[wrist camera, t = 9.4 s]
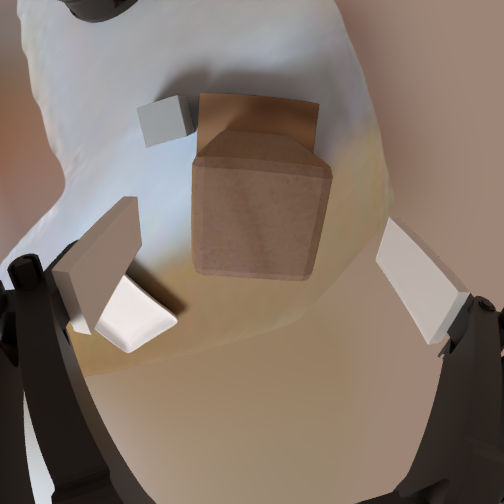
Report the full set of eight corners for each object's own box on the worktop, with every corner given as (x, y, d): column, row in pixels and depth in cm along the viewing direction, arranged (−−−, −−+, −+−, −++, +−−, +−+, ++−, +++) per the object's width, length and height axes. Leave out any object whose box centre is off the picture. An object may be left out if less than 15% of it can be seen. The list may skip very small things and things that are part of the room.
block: (293, 135, 35) (339, 166, 17) (284, 203, 40) (312, 286, 22) (219, 129, 34) (190, 152, 17) (215, 197, 39) (190, 278, 22)
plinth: (205, 94, 36) (200, 92, 32) (311, 104, 37) (319, 103, 32) (200, 192, 44) (195, 202, 39) (298, 199, 45) (303, 210, 40)
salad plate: (131, 346, 63) (127, 355, 60) (67, 293, 55) (61, 302, 52) (183, 311, 57) (180, 322, 54) (108, 243, 48) (101, 252, 46)
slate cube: (150, 107, 36) (136, 108, 31) (186, 96, 36) (177, 95, 31) (159, 142, 39) (146, 147, 34) (194, 132, 39) (186, 136, 34)
